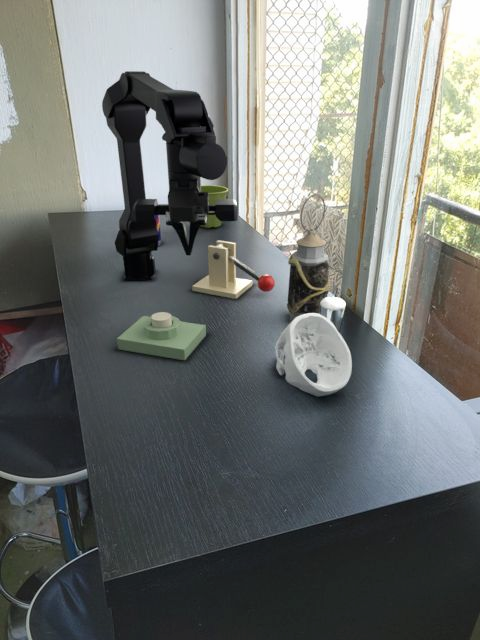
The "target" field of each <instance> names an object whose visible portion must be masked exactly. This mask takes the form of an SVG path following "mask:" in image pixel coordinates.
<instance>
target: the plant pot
mask: <svg viewBox="0 0 480 640" xmlns="http://www.w3.org/2000/svg"><path fill="white" fill-rule="evenodd" d="M201 192H208V200H209V204H216V199H227V193H228V192H229V188H228V187H225V186H223V185H222V186H221V185H211V184H203V185H202V184H201ZM221 226H222V221H220V220H219V219H218V218H217V217H216V215H207V221H206V225H201V226H200V228H204V229H205V228H206V229H210V228H219V227H221Z"/></svg>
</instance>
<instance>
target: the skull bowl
mask: <svg viewBox="0 0 480 640" xmlns="http://www.w3.org/2000/svg"><path fill="white" fill-rule="evenodd" d="M279 350H280V353H279ZM274 352H275V357H276V366H275V368H276V370H277V372H278V374H279V375H280V376H283V375H285V381H286V382H287V383H288V384H290V385H291V386H294V387H295V388H298V389H299V390H301V391H303V392H305V393H308V394H310V395H312V396H315V397H318V398H319V397H320V398H321V397H323V396H324V397H325V396H330V395H332V394H335V393H337V392H339V391H341V390H342V389H343V388H344V387H345V386H346V385H348V382H349V381H350V378H351V376H352V371H353V369H352V367H353V362H352V361H353V360H352V359H353V358H352V354H351V351H350V348H349V345H348V344H347V342H346V341H345V339H344V337H343V336H342V334H341V332H340V333H339V332H338V331H337V329H336V327H335V326H334V325H333V323H332V322H331V321H330V320H329V319H328V318H326V317H324V316H322V315H320V314H318V313H307V314H303V315H300V316H297V317H296V318H295V319H294V320H293V321H290V322H289V324H288V325H287V327H286V328H285V329H284V330H283V331H282V332H281V334H280V336H279V339H278V340H277V341H276V343H275V346H274ZM279 354H280V355H279ZM309 370H310V371H311V372H312V373H313V374H315V375H316V380H317V381H315V382H314V381H312V380H310V378H308V377H307V375H306V371H309Z"/></svg>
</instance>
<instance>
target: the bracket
mask: <svg viewBox="0 0 480 640" xmlns="http://www.w3.org/2000/svg"><path fill="white" fill-rule="evenodd" d="M221 243H222V244H223V245H224V246H226V247H227V248H225V247H218V245H219V244H221ZM228 248H229V249H230V250H231V252H230V255H232V256H233V257H235V258H236V259H237V243H236V242H233V241H227V240H226V241H225V240H219V239H218V240H216V241H215V245H212V244H210V245H208V246H207V255H208V256H207V261H208V274H207V275H206V276H204V277H203V278H201V279H200V280H199V281H198V282H196V283H194V284H193V285H191V291H192V292H197V293H202V294H207V295H212V296H218V297H222V298H227V299H233V300H237V299H238V298H239V297H240V296H242V295H243V294H244V293H245V292H246V291H248V290H249V289H250V288H251V287H252V286H253V280H252V279H247V278H241V277H237V266H235V265H234V264H233V263H231V262H230V261H228Z"/></svg>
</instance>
